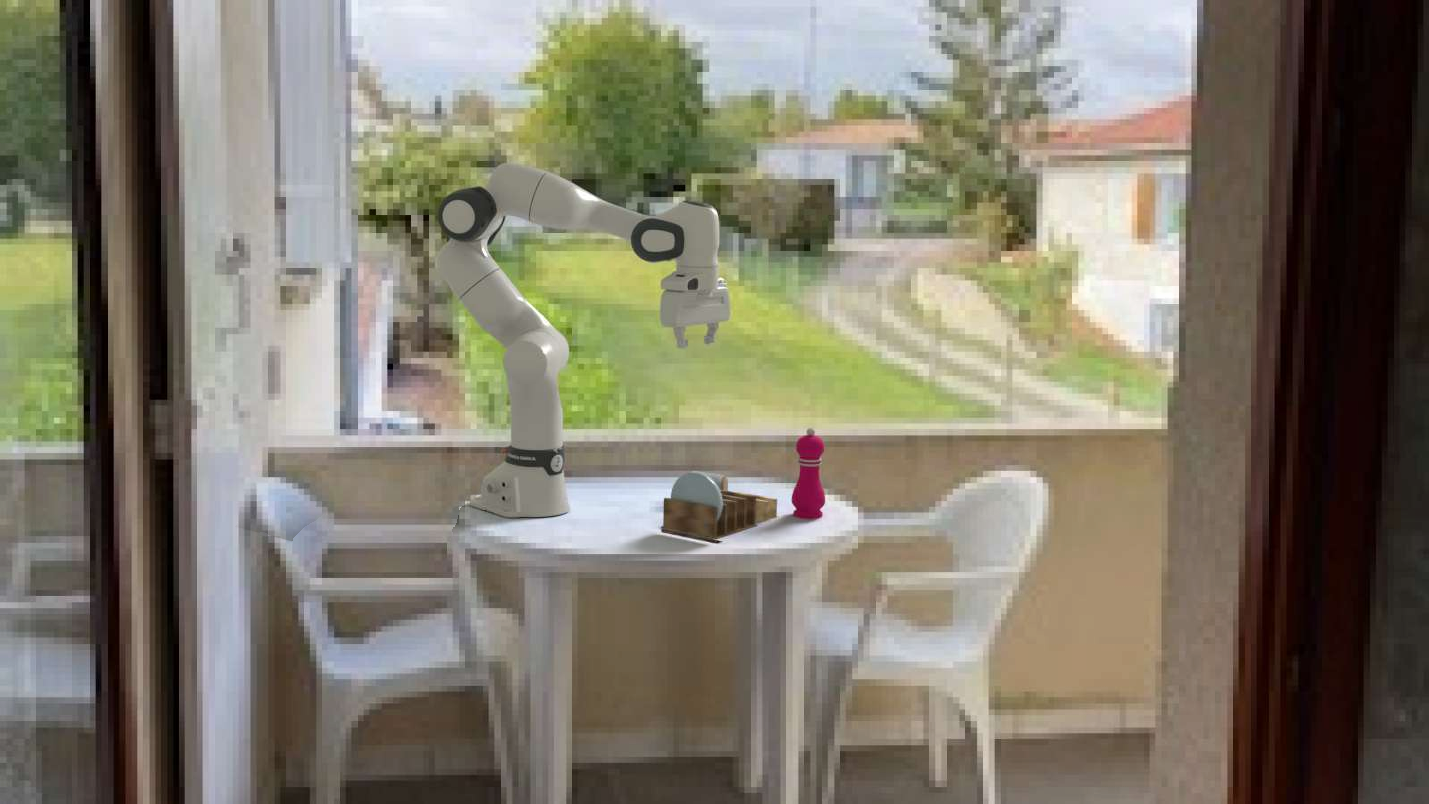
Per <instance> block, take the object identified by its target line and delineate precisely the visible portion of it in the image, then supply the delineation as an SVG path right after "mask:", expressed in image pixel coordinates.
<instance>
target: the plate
mask: <svg viewBox="0 0 1429 804" xmlns="http://www.w3.org/2000/svg"><path fill="white" fill-rule="evenodd" d="M701 472H702V471H699V472H692V471H691V472H688V473H684V474H682V475H681V476H680V477H678V478H677V479H676V480H675V482H674V484H673V485H672V488H671V491H670V498H671V499H676V500H681V501H686V502H692V503H697V504H702V505H707V506H712V507H718V516H717V522H718V521H719V519H720V517H721V515H722V511H723V499H722V494H721V491H720V489H719V487H718V485H717V484H716V482H715V481H714V480H713V479H712V478H711V477H710V476H708V475H706V474H704V473H701Z"/></svg>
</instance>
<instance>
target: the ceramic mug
mask: <svg viewBox="0 0 1429 804" xmlns="http://www.w3.org/2000/svg"><path fill="white" fill-rule="evenodd" d="M691 472H701V473H704V474H706V475H708V476H710V477H711V478H712V479H713V480H714V481H715V482H716V484H717V485H718V487H719V489H720V490H726V491H729V480H728V478H727V476H726V475H722V474H719V473H710V472H705V471H698V470H692V471H691Z"/></svg>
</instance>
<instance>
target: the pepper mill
mask: <svg viewBox="0 0 1429 804" xmlns="http://www.w3.org/2000/svg"><path fill="white" fill-rule="evenodd" d="M815 433H816V431H815V429H814V428H812V427H809V428H807V429H806V434H804V435H803V436H800V437H799V438H798V440H797V442H796V446H795V449H796V453H797V454H798V455H799V457H798V458H797V460H798V461H797V464H798V465H799V475H798V479H797V482H796V484H795V486H794V489H793V490H792V494H791V503H792V506H794V508H795V510H794V511H793V513H792V514H793V517H795V518H798V519H802V520H803V519H804V520H806V519H807V520H813V519H814V520H816V519H820V518H822V517H823V515H824V514H823V511H822V508H823V507H824V506H825V504H826V493H825V491H824V488H823V486H822V482H821V478H820V466H821V465H822V458H821V456H822V455H823V454H824V452H825V443H824V441H823V439H822V438H821V437H820V436H818V435H815Z"/></svg>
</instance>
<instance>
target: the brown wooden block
mask: <svg viewBox="0 0 1429 804" xmlns="http://www.w3.org/2000/svg"><path fill="white" fill-rule="evenodd" d="M737 493H742V494H748V495H753V496H756V521H758V522H767V521H771V520H774V519H776V518H779V517H780V516H779V515H777V514H778V513H777V512H778V498H774V497H768V496H762V495H757V494H753V493H747V492H742V491H737Z"/></svg>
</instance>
